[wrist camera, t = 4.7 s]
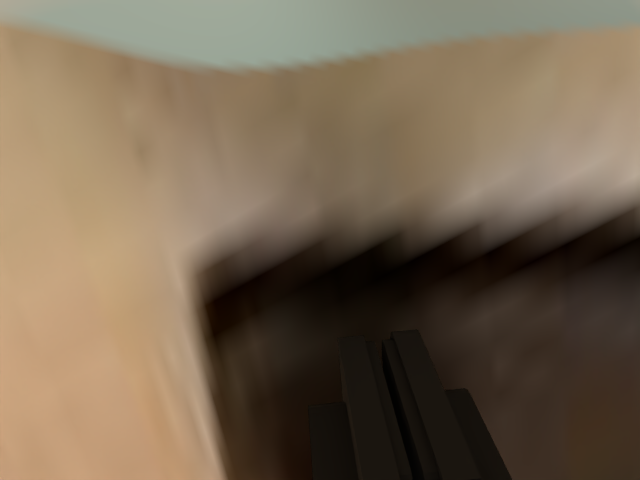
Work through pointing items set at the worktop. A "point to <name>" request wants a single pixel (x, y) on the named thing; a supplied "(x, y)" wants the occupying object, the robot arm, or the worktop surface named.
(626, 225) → the worktop surface
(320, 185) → the worktop surface
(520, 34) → the worktop surface
